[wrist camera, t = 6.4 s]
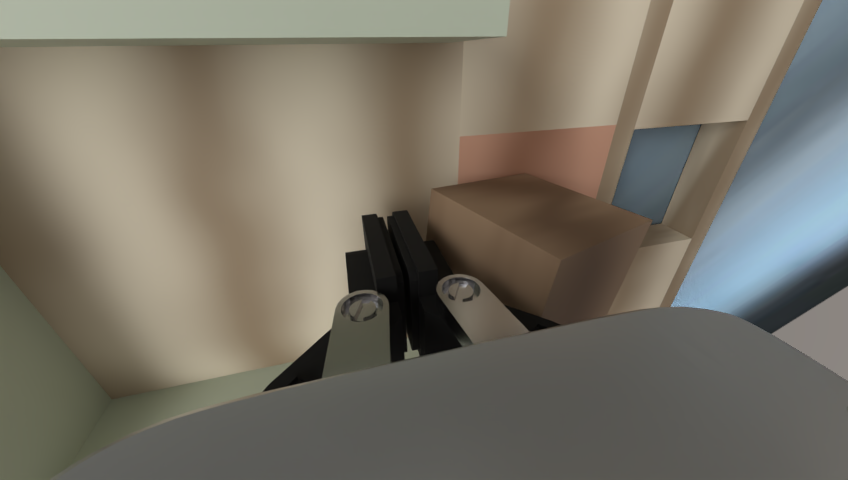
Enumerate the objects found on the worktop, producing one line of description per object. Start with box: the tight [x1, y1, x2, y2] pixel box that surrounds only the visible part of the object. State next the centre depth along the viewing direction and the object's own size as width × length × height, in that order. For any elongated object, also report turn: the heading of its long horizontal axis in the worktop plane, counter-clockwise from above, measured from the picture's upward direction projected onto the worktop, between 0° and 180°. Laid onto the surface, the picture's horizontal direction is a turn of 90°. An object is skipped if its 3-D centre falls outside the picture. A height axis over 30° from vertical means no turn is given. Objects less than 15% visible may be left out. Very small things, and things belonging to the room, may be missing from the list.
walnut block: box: [426, 173, 652, 325], centre depth 12 cm, size 5×5×5 cm
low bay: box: [0, 0, 510, 480], centre depth 10 cm, size 16×15×4 cm
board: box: [0, 0, 822, 399], centre depth 14 cm, size 32×22×2 cm
